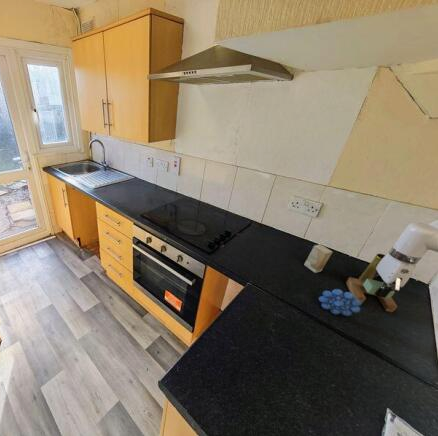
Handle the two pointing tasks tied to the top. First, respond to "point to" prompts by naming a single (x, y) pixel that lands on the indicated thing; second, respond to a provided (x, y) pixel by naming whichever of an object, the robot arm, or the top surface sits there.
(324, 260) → the cosmetic box
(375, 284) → the light green block
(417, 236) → the robot arm
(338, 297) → the grapes
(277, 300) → the top surface
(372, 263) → the vase
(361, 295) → the brown wooden u-shaped piece
